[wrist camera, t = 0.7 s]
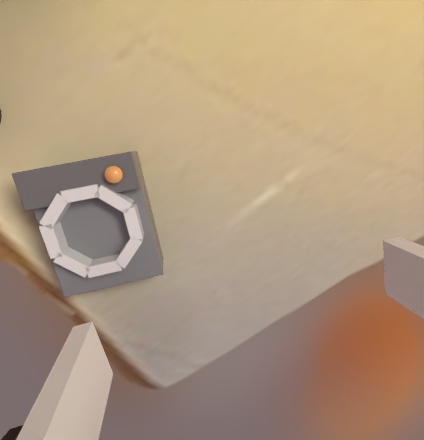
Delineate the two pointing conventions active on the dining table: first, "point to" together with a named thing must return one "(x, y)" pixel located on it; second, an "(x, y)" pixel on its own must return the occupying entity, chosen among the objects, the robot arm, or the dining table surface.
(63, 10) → the dining table surface
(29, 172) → the camera body
